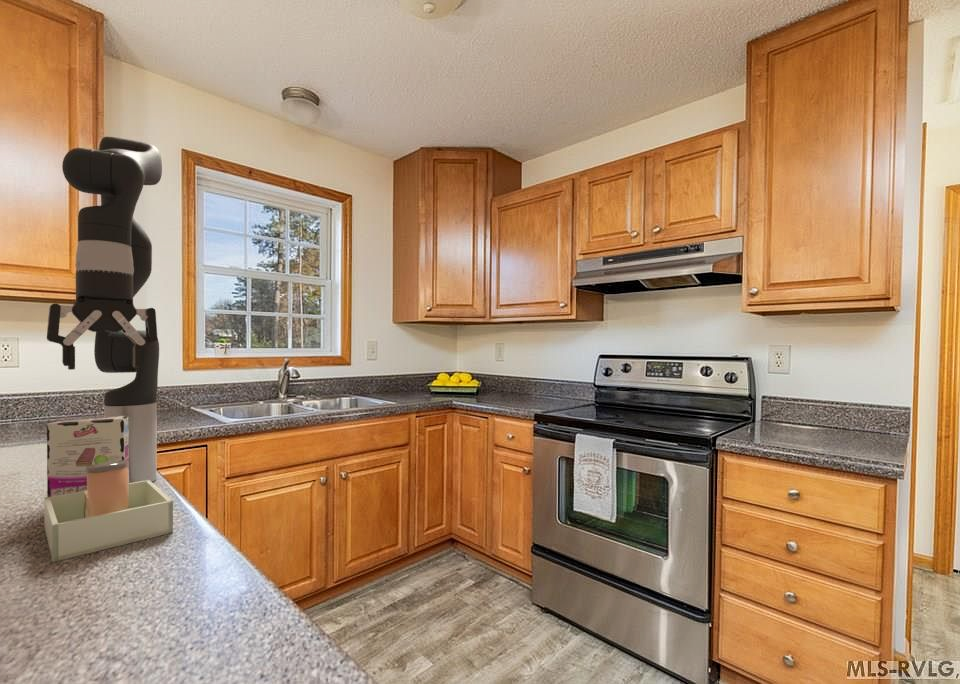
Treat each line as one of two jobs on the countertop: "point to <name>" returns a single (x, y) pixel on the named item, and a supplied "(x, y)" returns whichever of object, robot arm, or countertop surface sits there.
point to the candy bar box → (83, 450)
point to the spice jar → (107, 487)
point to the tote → (105, 521)
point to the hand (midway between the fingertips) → (105, 368)
